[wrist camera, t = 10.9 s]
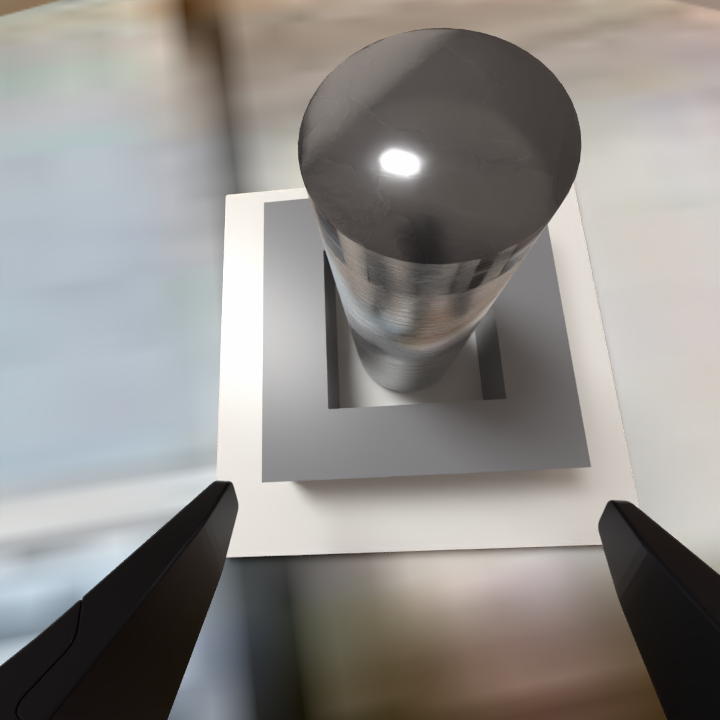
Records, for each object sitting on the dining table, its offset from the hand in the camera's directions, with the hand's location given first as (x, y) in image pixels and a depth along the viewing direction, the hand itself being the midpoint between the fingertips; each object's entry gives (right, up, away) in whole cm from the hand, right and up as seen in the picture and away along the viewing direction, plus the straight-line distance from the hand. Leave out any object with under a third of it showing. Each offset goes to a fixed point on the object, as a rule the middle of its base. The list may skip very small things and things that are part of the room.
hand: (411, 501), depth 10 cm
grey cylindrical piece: (+1, +4, +9) cm, 10 cm away
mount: (+1, +4, +10) cm, 11 cm away
